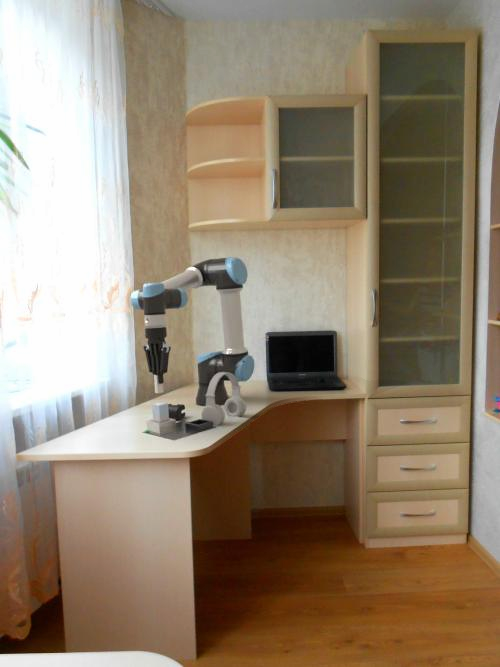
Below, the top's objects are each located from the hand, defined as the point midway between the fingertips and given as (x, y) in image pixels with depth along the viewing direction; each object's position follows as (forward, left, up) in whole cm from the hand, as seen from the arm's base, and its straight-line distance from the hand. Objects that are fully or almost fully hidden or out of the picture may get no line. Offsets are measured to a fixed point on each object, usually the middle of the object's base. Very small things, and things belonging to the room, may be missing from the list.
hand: (159, 392), depth 184 cm
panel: (-5, +4, -15) cm, 16 cm away
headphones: (-25, +7, -16) cm, 30 cm away
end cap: (-14, -12, -16) cm, 24 cm away
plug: (0, 0, -14) cm, 14 cm away
